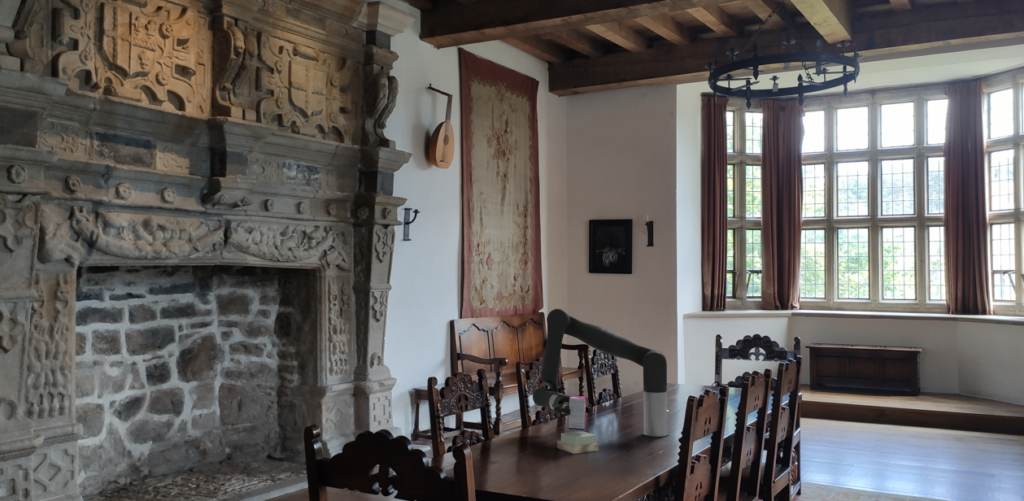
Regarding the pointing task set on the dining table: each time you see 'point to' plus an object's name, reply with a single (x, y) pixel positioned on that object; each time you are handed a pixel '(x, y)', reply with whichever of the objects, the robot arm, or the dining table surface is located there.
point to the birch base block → (577, 447)
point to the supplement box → (577, 413)
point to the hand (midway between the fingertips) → (579, 411)
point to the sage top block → (578, 438)
